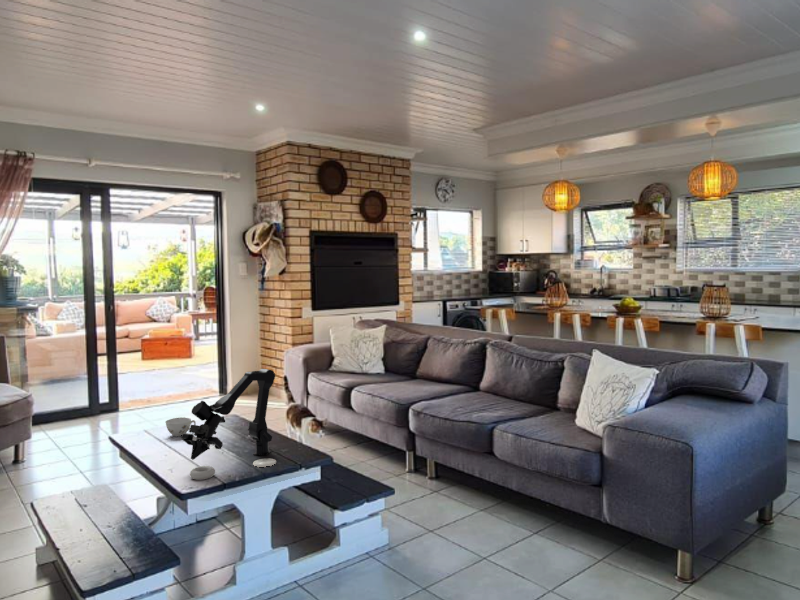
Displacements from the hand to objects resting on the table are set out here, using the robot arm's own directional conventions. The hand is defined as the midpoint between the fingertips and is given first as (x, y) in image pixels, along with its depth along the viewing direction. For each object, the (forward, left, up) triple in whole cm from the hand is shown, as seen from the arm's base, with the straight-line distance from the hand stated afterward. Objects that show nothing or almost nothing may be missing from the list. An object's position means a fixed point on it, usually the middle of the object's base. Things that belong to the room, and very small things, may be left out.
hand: (192, 459), depth 243 cm
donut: (-4, +2, -5) cm, 7 cm away
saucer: (-18, +24, -7) cm, 31 cm away
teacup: (-57, -39, -7) cm, 70 cm away
